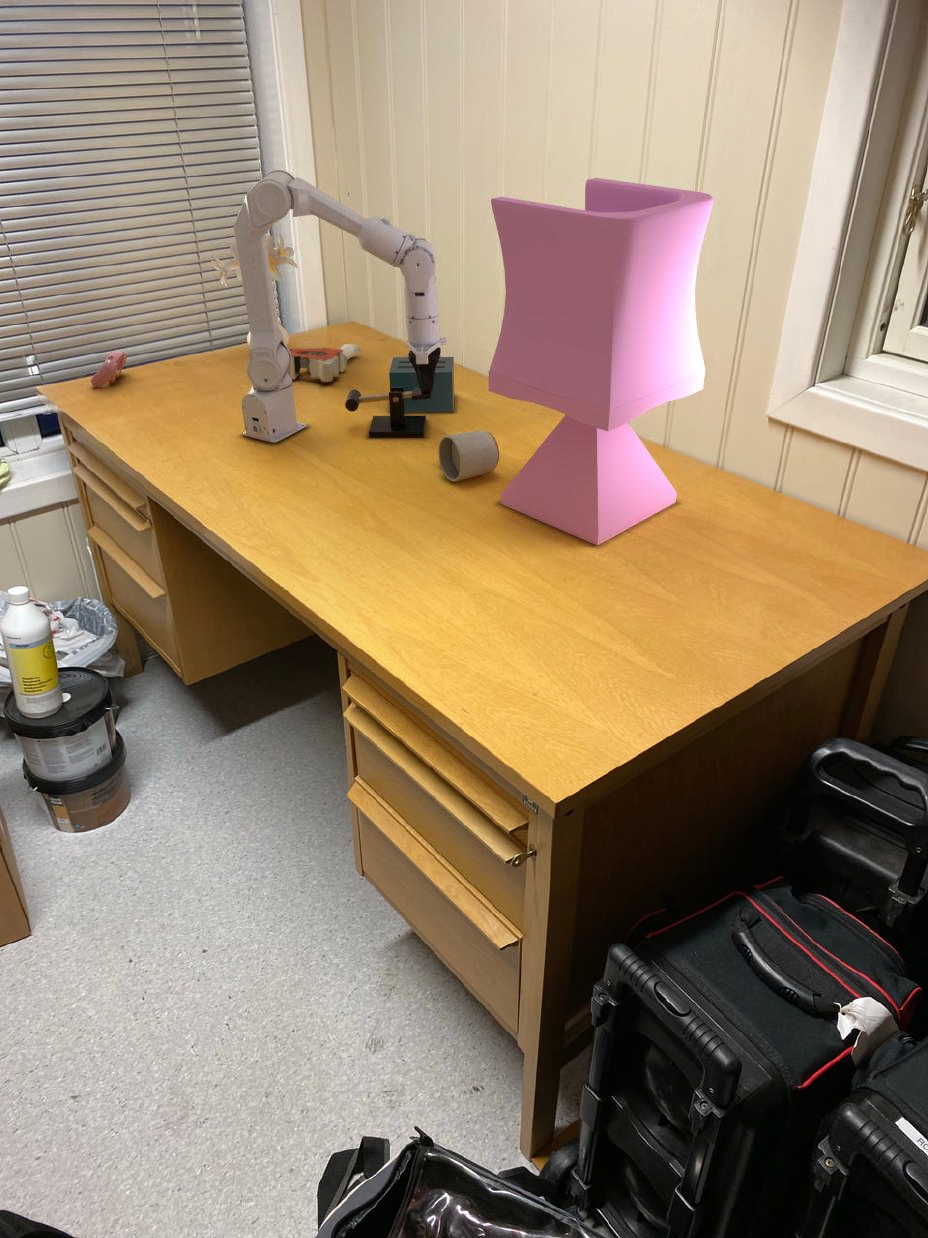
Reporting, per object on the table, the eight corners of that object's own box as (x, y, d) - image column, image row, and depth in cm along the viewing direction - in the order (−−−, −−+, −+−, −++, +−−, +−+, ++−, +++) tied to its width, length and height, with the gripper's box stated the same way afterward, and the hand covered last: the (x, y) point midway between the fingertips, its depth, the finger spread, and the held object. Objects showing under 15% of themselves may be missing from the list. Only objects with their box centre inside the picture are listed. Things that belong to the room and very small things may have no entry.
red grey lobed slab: (357, 360, 215) (270, 368, 207) (356, 336, 212) (268, 343, 204) (384, 380, 201) (292, 389, 193) (384, 355, 198) (291, 363, 191)
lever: (346, 412, 173) (343, 399, 171) (349, 402, 177) (347, 389, 175) (431, 403, 171) (430, 390, 170) (433, 393, 175) (431, 381, 174)
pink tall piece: (578, 461, 164) (595, 177, 139) (688, 502, 150) (728, 195, 125) (488, 503, 151) (488, 198, 126) (599, 552, 137) (623, 220, 113)
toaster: (391, 412, 184) (388, 371, 180) (395, 396, 192) (392, 356, 187) (453, 412, 184) (452, 371, 179) (454, 395, 191) (453, 356, 187)
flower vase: (217, 356, 214) (199, 239, 200) (289, 339, 223) (276, 227, 210) (244, 371, 205) (226, 249, 192) (318, 353, 215) (306, 236, 201)
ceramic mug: (502, 476, 159) (502, 433, 155) (461, 488, 155) (460, 444, 151) (468, 456, 166) (467, 414, 162) (428, 467, 163) (426, 424, 159)
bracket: (369, 438, 174) (366, 397, 169) (373, 421, 180) (370, 382, 176) (423, 437, 173) (422, 397, 169) (426, 421, 180) (424, 381, 176)
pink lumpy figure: (110, 395, 198) (118, 365, 195) (88, 385, 197) (96, 355, 194) (125, 379, 207) (133, 350, 203) (104, 369, 206) (112, 341, 202)
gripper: (443, 326, 159) (447, 404, 166) (446, 302, 171) (450, 376, 178) (401, 327, 159) (407, 405, 167) (407, 304, 171) (412, 377, 179)
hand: (427, 390), depth 173 cm, fingers closed, pressing on lever
